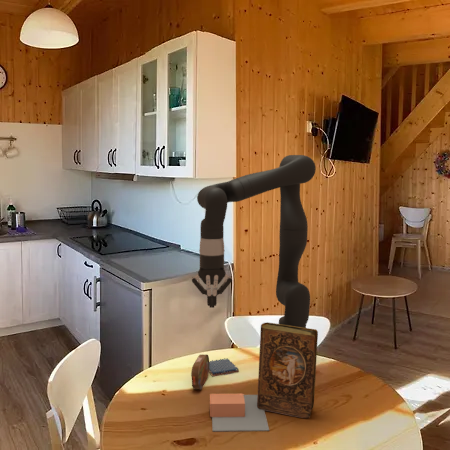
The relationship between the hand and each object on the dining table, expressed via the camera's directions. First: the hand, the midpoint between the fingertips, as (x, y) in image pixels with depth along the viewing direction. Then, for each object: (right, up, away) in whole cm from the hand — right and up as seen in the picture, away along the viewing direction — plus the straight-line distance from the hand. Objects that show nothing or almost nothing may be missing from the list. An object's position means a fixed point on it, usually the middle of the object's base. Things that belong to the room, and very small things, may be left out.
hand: (211, 306), depth 150 cm
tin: (-4, -27, +10) cm, 29 cm away
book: (+22, -30, -7) cm, 37 cm away
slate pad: (+8, -30, -8) cm, 32 cm away
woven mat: (+2, -26, +21) cm, 34 cm away
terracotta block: (0, -27, -9) cm, 29 cm away
